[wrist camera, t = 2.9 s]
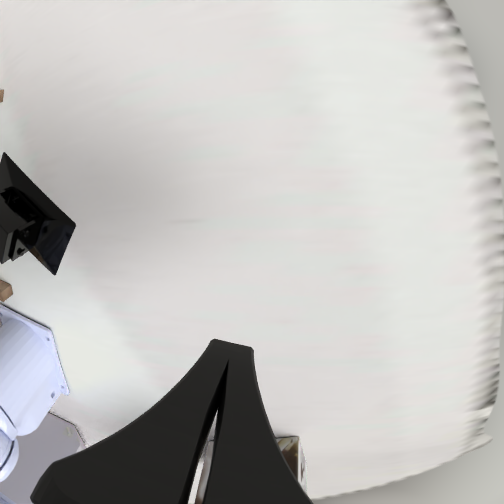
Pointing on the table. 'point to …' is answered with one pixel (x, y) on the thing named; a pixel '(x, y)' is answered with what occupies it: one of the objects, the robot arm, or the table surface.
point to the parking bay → (3, 289)
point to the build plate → (30, 220)
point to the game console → (40, 456)
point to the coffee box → (290, 450)
